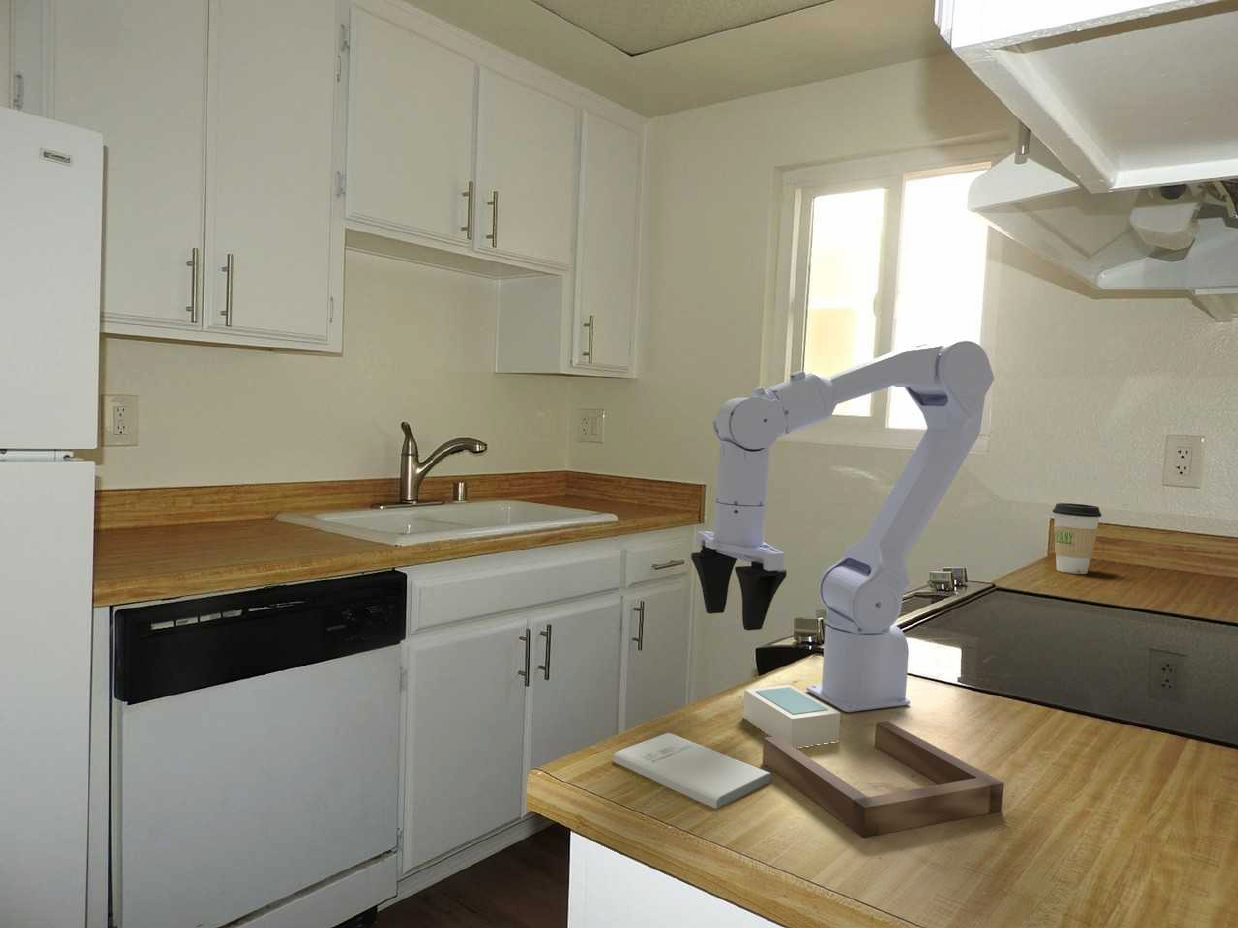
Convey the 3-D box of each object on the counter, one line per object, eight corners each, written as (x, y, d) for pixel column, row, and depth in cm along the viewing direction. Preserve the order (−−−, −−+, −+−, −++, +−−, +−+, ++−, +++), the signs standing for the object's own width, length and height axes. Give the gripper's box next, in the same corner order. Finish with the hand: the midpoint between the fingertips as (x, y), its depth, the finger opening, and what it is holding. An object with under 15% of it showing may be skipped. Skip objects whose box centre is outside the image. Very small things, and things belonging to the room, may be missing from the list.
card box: (788, 714, 98) (790, 683, 97) (838, 745, 89) (840, 711, 89) (742, 720, 95) (744, 688, 95) (790, 752, 87) (792, 718, 87)
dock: (886, 744, 89) (887, 721, 89) (1001, 810, 76) (1003, 782, 75) (762, 762, 83) (763, 737, 83) (863, 837, 70) (865, 807, 70)
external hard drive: (715, 816, 74) (613, 767, 82) (770, 788, 79) (669, 745, 88) (716, 798, 74) (613, 751, 82) (772, 771, 79) (670, 729, 88)
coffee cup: (1049, 565, 202) (1054, 501, 201) (1097, 570, 198) (1102, 505, 196) (1046, 571, 194) (1051, 505, 193) (1096, 577, 189) (1102, 509, 188)
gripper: (678, 495, 103) (671, 607, 104) (749, 512, 90) (740, 640, 91) (727, 495, 106) (720, 604, 107) (802, 511, 93) (794, 635, 94)
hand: (733, 620), depth 99 cm, fingers open, 7 cm apart
